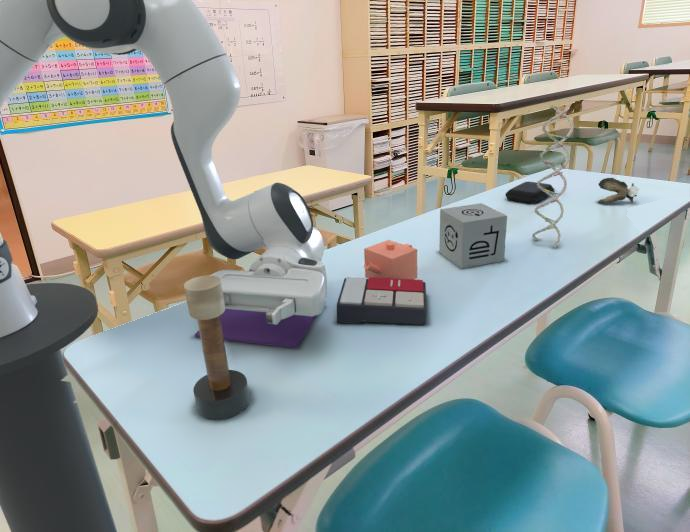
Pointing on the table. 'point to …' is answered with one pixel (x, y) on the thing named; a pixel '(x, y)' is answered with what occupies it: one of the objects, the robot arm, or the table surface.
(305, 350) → the table surface
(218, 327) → the wooden rod on disc
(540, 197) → the carrying case
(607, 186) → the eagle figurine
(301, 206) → the robot arm
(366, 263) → the pink cube teapot
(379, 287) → the dark paneled box
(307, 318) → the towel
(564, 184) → the dna model
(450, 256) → the icon cube
